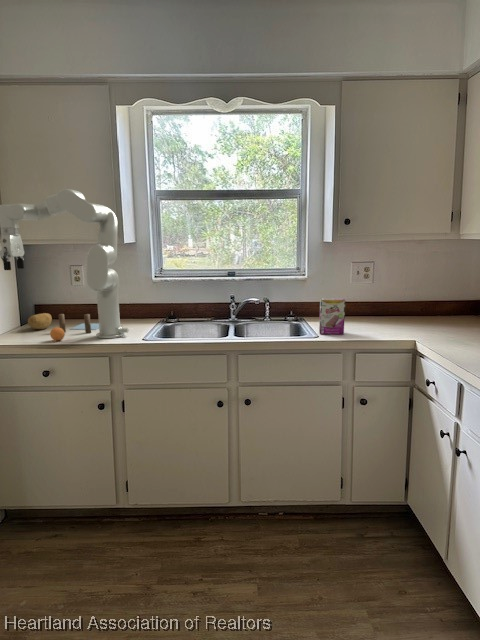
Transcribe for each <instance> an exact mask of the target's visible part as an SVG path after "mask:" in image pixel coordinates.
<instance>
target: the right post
mask: <svg viewBox="0 0 480 640" xmlns="http://www.w3.org/2000/svg"><path fill="white" fill-rule="evenodd" d="M83 317H84V318H83V320H84V323H85V330H84V331H85V334H91V333H92V330H91V324H92V323H91V314H90V313H87V314H84V315H83ZM90 323H91V324H90Z"/></svg>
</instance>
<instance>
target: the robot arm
mask: <svg viewBox="0 0 480 640" xmlns="http://www.w3.org/2000/svg"><path fill="white" fill-rule="evenodd" d="M65 213H66V214H67V213H69V214H71V215H72V216H73V217H75V218H77V219H79V220H80V221H81V222H83V223H86V224H97V225H99V227H98V232H97V244H95V245H92V246H91V247H90V248H89V250H88V252H87V254H86V282H87V285H88V288H90V290H93V291H94V292H97V293H96V300H97V313H98V315H97V316H98V317H97V318H98V324H99V328H98V329H99V332H97V333H96V338H99V339H115V338H120V337H123V336H125V333H129V331H130V329H129V328H128V327H124V326H123V324H121V319H120V315H121V314H120V298H119V289H120V277H119V275H118V272H117V271H116V270H114V269H113V268H110V267H109V266H110V265H113V264H115V262H116V261H117V259H118V230H119V228H118V227H119V225H118V218H117V216H116V214H115V212H114V211H113V210H112V209H111V208H109V207H107V206H106V205H103V204H98V203H92V202H89V201H87V200H86V196H85V195H84V194H83V193H82V192H81V191H79V190H75V189H71V188H63V189H61V190H59V191H58V192H57V193H55V194H52V195H48V196H46V197H45V201H43V202H37V203H33V204H32V203H31V204H30V203H29V204H28V203H21V202H20V203H13V204H4V203H3V204H0V233H1V239H0V240H1V241H0V243H1V250H0V259H1V261H2V263H3V269H4V271H11V270H12V265H11V264H12V262H11V261H10V260H11V258H16V266H17V269H18V270H19V269H21V270H22V269H23V270H24V269H25V263H24V260H25V256H26V255H25V254H26V250H25V249H24V244H23V240H22V236H21V234H20V225H19V224H20V223H19V221H28V222H35V221H40V220H43V219H49V218H51V217H54V216H57V215H61V214H65Z"/></svg>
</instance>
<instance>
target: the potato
mask: <svg viewBox="0 0 480 640" xmlns="http://www.w3.org/2000/svg"><path fill="white" fill-rule="evenodd" d="M52 320H53V318H52V315H51V314H50V313H48V312H47V313H46V312H43V313H38V314H34V315H31V316H29V317H28V319H27V324H28V326H29V327H30V328H31V329H34V330H45V329H47V328H48V327H49V326H50V325H51V323H52Z"/></svg>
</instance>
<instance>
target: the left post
mask: <svg viewBox="0 0 480 640" xmlns="http://www.w3.org/2000/svg"><path fill="white" fill-rule="evenodd" d="M65 318H66V317H65V314H64V313H59V314H58V323H59V324H58V325H59V328H62V329H63V330H64V332H65V333H66V329H67V328H66V319H65Z"/></svg>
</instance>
